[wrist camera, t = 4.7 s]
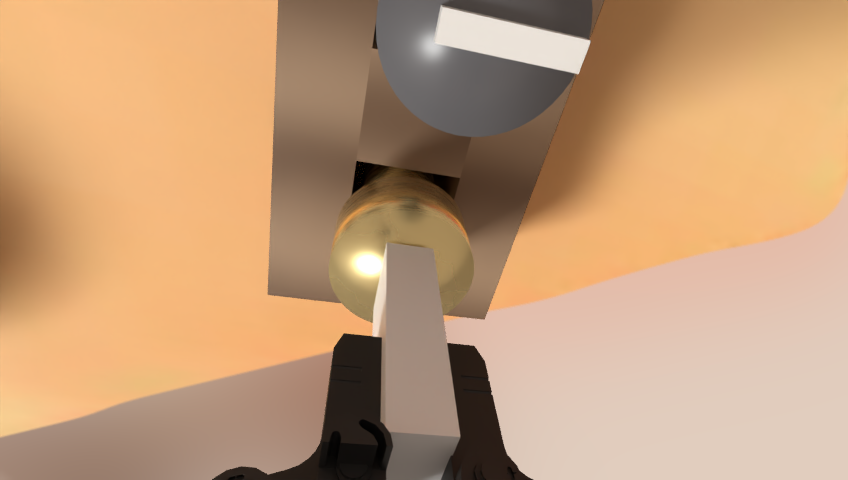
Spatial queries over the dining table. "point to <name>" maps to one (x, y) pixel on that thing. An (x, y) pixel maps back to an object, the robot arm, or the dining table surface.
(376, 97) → the mount
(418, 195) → the knob
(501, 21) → the pot knob
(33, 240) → the dining table surface
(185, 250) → the dining table surface
